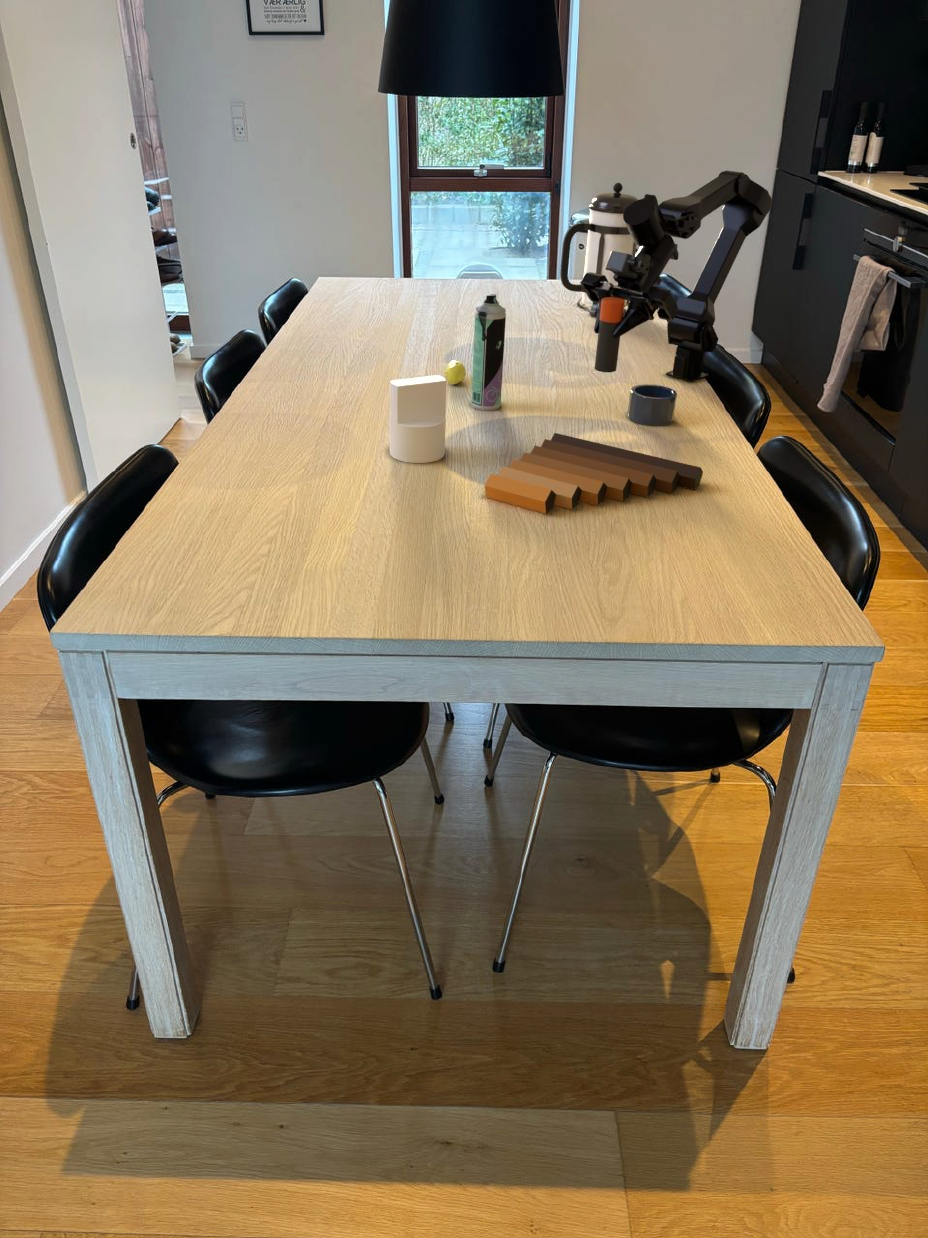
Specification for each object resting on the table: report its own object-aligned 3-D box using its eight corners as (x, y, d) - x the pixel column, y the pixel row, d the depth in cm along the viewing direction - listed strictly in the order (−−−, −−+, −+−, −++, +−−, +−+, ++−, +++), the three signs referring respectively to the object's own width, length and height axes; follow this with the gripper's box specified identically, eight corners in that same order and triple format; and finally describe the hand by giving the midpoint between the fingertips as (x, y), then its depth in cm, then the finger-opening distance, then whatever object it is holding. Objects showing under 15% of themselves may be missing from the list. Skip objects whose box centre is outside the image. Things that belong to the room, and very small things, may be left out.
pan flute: (700, 484, 151) (557, 448, 162) (704, 463, 149) (559, 429, 160) (641, 542, 132) (483, 498, 143) (644, 520, 131) (484, 477, 141)
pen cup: (644, 407, 182) (648, 381, 179) (681, 419, 177) (685, 392, 174) (618, 416, 177) (621, 390, 174) (655, 429, 172) (659, 401, 169)
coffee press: (589, 300, 255) (602, 176, 240) (643, 310, 247) (660, 183, 232) (555, 311, 243) (566, 181, 227) (611, 323, 235) (626, 189, 220)
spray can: (497, 411, 176) (504, 299, 166) (468, 408, 177) (473, 296, 167) (502, 402, 181) (509, 292, 171) (474, 399, 182) (479, 289, 172)
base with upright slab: (403, 466, 152) (403, 392, 146) (380, 446, 159) (380, 375, 153) (454, 458, 156) (456, 385, 150) (429, 439, 163) (431, 369, 157)
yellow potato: (441, 386, 188) (442, 366, 186) (447, 374, 195) (448, 354, 193) (462, 387, 187) (463, 368, 185) (468, 375, 194) (469, 356, 192)
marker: (598, 364, 180) (605, 295, 174) (619, 368, 179) (627, 298, 172) (591, 370, 177) (598, 300, 171) (612, 373, 176) (621, 303, 169)
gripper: (592, 225, 174) (547, 296, 173) (679, 241, 163) (632, 317, 162) (613, 265, 183) (571, 333, 182) (697, 283, 172) (652, 356, 171)
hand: (604, 334), depth 174 cm, fingers closed on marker, 4 cm apart
